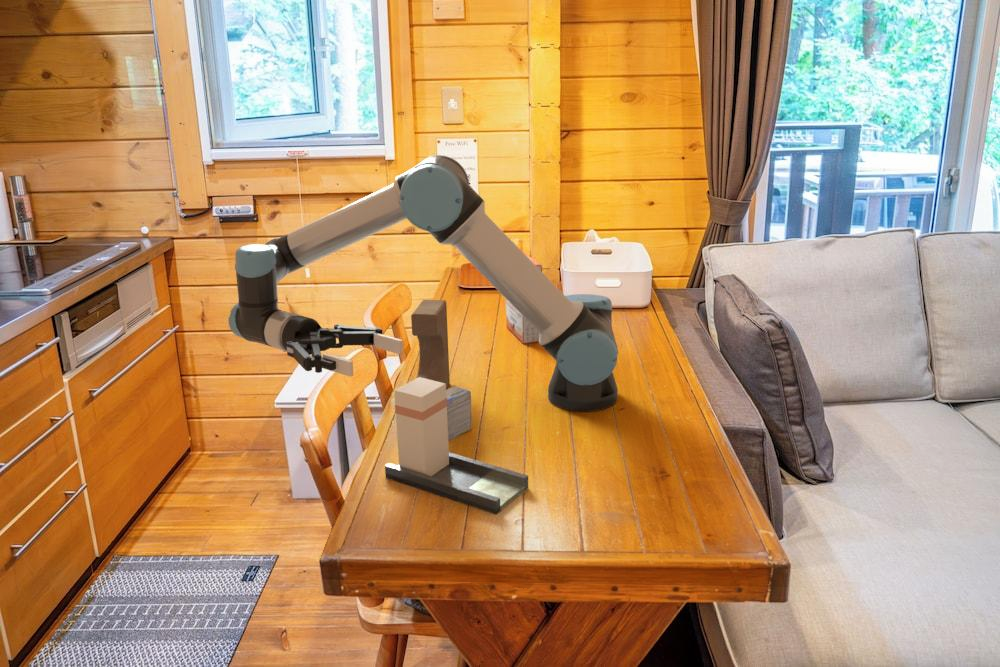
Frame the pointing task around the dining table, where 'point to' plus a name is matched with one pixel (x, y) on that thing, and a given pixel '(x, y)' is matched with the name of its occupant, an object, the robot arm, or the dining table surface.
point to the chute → (466, 482)
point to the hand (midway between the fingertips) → (377, 357)
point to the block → (422, 426)
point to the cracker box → (521, 320)
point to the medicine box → (458, 411)
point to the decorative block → (432, 340)
